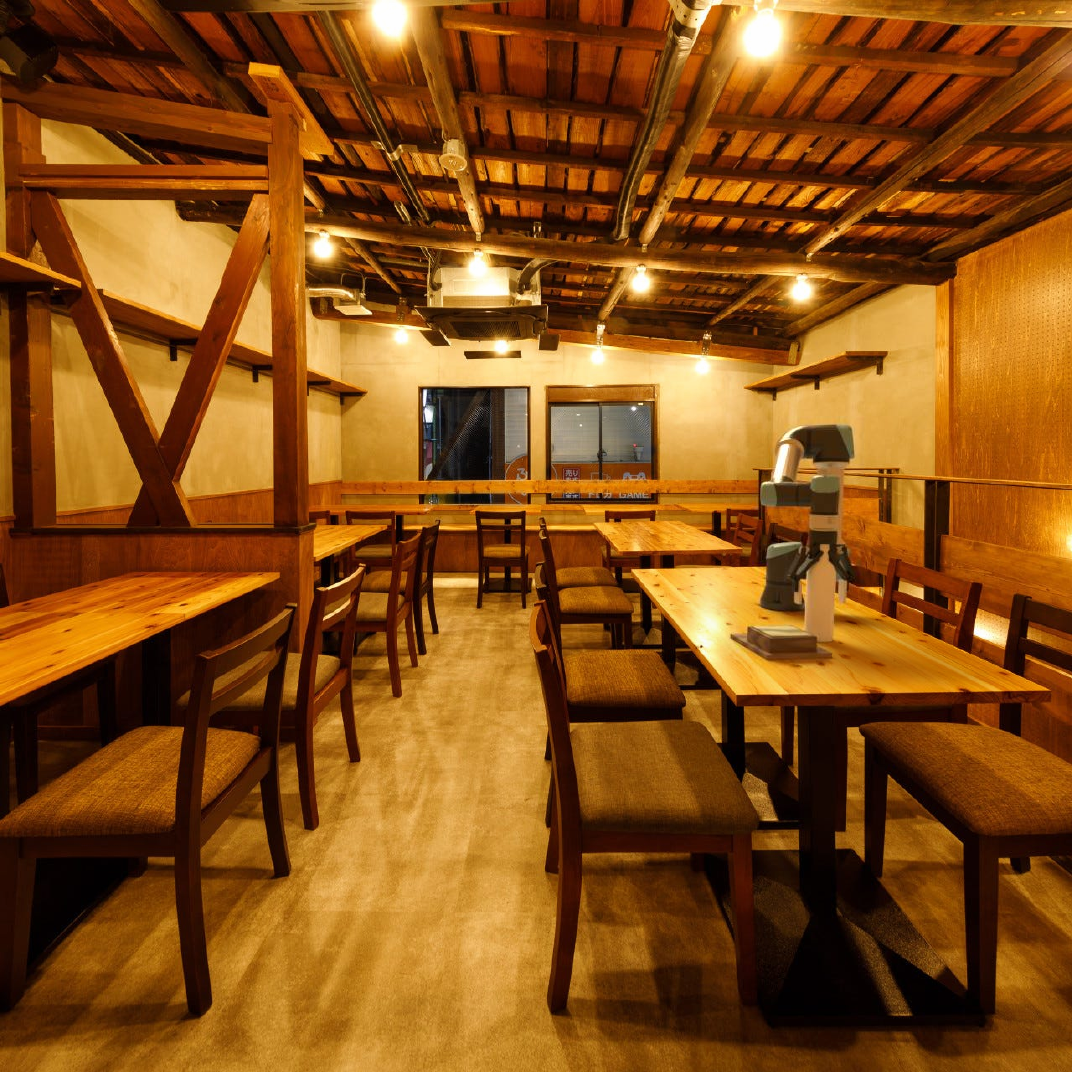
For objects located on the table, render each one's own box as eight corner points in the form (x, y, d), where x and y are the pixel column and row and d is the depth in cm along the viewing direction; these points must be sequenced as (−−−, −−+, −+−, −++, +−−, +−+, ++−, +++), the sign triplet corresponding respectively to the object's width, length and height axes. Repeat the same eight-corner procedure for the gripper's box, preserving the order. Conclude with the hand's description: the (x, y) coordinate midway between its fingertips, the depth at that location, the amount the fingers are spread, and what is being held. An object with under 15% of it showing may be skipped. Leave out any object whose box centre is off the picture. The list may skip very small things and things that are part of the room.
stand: (730, 637, 184) (730, 619, 184) (788, 636, 186) (789, 617, 186) (766, 659, 163) (767, 638, 162) (832, 657, 165) (833, 636, 164)
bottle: (820, 643, 178) (825, 538, 175) (797, 637, 185) (801, 535, 182) (839, 640, 182) (844, 536, 179) (816, 634, 189) (820, 534, 186)
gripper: (788, 531, 175) (785, 606, 177) (872, 530, 178) (868, 604, 180) (775, 528, 182) (772, 601, 184) (855, 528, 186) (851, 599, 187)
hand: (819, 602), depth 182 cm, fingers open, 13 cm apart
